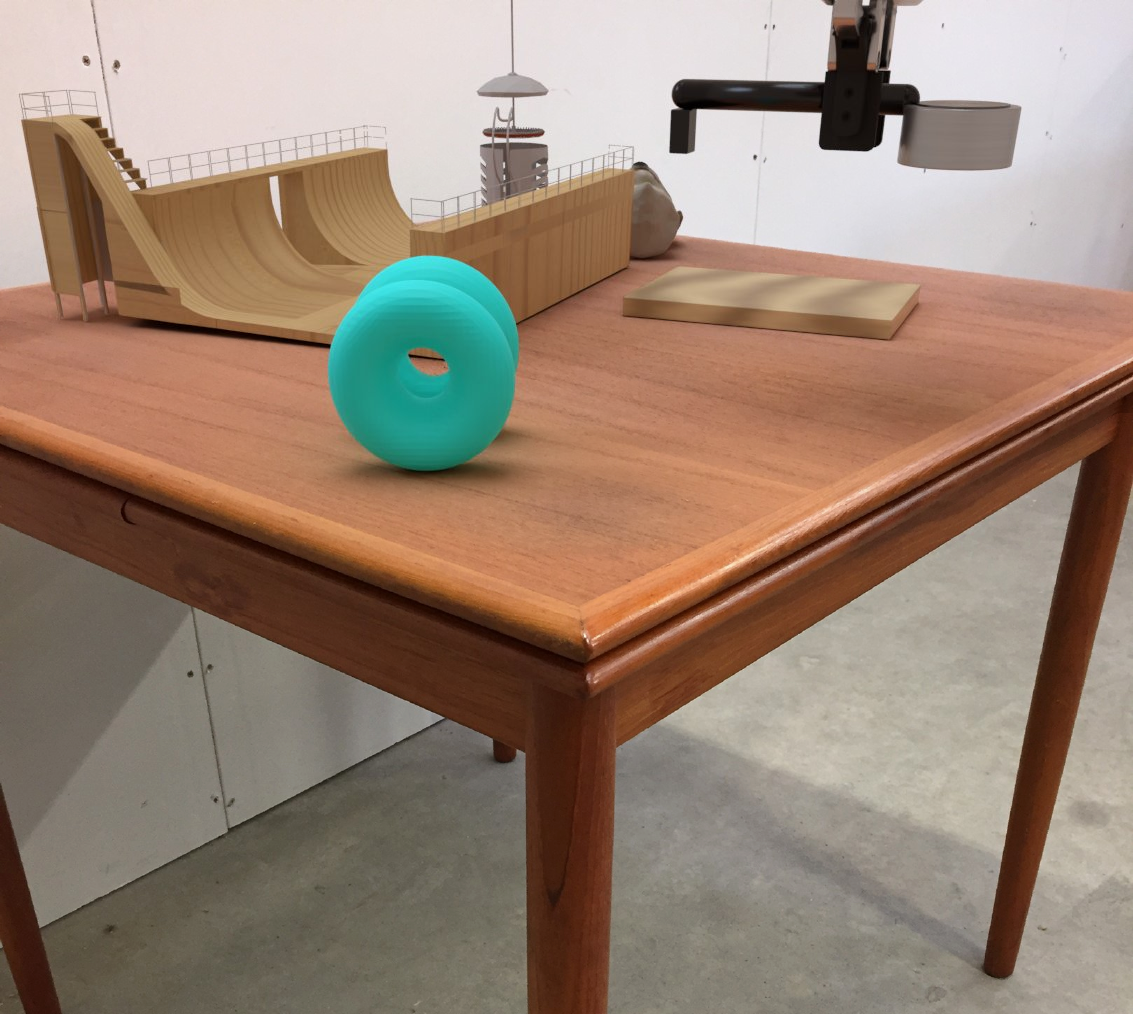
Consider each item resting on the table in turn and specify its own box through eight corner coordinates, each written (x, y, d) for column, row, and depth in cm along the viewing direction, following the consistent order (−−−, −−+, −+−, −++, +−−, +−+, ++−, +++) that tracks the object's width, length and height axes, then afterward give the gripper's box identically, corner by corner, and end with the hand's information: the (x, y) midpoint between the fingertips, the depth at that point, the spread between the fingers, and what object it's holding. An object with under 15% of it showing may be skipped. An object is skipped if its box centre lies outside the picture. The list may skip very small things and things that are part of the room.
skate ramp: (447, 373, 89) (442, 126, 81) (57, 317, 100) (15, 93, 91) (629, 276, 121) (639, 91, 112) (318, 241, 131) (305, 69, 123)
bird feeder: (564, 217, 148) (564, -29, 134) (544, 233, 138) (543, -31, 125) (484, 215, 149) (477, -29, 136) (459, 230, 139) (449, -31, 126)
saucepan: (1016, 160, 72) (1029, 83, 70) (1006, 172, 67) (1020, 89, 65) (684, 146, 79) (688, 75, 77) (653, 157, 74) (656, 81, 72)
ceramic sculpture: (593, 164, 117) (581, 157, 131) (591, 261, 122) (580, 245, 135) (703, 165, 118) (680, 158, 131) (697, 261, 122) (676, 245, 135)
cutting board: (918, 302, 107) (920, 284, 106) (889, 339, 95) (892, 319, 94) (676, 283, 114) (677, 265, 113) (622, 315, 102) (622, 296, 101)
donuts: (333, 477, 67) (314, 285, 62) (358, 424, 75) (344, 251, 70) (515, 478, 67) (512, 286, 62) (521, 424, 75) (518, 251, 70)
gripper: (950, -285, 55) (892, 165, 65) (985, -233, 68) (932, 138, 77) (786, -274, 58) (754, 159, 67) (849, -225, 70) (815, 134, 80)
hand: (850, 145), depth 72 cm, fingers closed on saucepan
